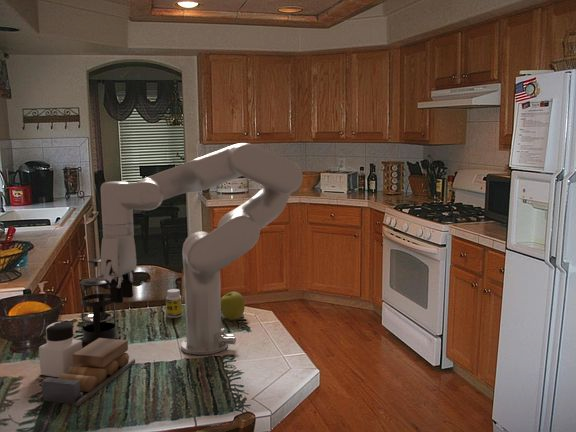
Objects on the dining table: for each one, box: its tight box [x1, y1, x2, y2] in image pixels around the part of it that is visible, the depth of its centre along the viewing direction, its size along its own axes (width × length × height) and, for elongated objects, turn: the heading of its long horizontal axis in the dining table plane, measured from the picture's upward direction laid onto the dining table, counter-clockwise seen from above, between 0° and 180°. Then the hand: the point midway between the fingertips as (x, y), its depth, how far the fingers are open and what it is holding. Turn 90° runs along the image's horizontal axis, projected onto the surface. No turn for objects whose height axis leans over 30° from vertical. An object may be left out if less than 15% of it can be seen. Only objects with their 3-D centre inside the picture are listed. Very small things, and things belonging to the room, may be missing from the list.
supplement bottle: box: [165, 288, 183, 319], centre depth 178 cm, size 5×5×8 cm
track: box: [37, 352, 136, 407], centre depth 131 cm, size 10×24×4 cm, turn 166°
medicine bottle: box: [38, 321, 83, 378], centre depth 136 cm, size 7×7×12 cm
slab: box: [73, 338, 129, 367], centre depth 136 cm, size 8×11×2 cm
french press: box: [79, 258, 118, 345], centre depth 158 cm, size 12×9×23 cm
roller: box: [58, 373, 98, 393], centre depth 127 cm, size 8×4×4 cm, turn 77°
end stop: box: [41, 376, 81, 406], centre depth 121 cm, size 8×2×4 cm, turn 76°
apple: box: [221, 289, 246, 321], centre depth 176 cm, size 8×8×10 cm
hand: (122, 299), depth 144 cm, fingers open, 4 cm apart
